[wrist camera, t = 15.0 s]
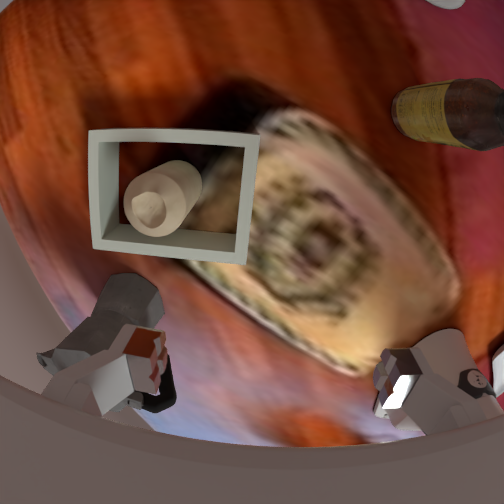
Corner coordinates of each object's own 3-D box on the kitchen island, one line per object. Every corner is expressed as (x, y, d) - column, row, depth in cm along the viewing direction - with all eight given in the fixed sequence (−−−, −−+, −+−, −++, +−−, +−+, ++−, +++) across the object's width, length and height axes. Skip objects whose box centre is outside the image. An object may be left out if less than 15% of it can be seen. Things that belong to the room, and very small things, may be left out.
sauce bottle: (407, 149, 29) (540, 194, 11) (378, 104, 27) (512, 100, 9) (442, 121, 28) (576, 146, 10) (416, 76, 26) (550, 63, 8)
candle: (144, 187, 31) (104, 213, 22) (174, 149, 30) (142, 160, 21) (181, 219, 33) (154, 256, 24) (213, 182, 31) (196, 207, 22)
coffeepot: (89, 312, 39) (30, 403, 22) (91, 256, 35) (10, 344, 18) (189, 345, 40) (163, 456, 24) (203, 291, 37) (173, 410, 20)
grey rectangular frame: (246, 245, 34) (245, 265, 30) (111, 232, 34) (93, 248, 29) (259, 133, 29) (260, 135, 25) (110, 128, 28) (88, 130, 24)
